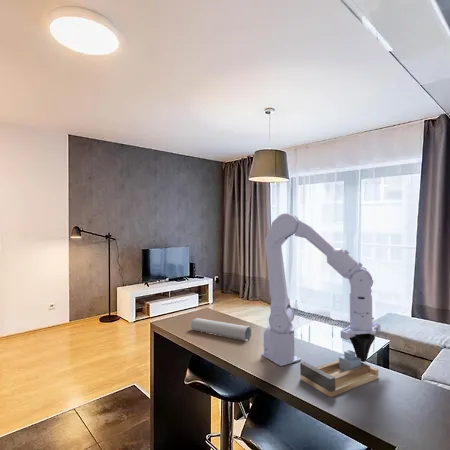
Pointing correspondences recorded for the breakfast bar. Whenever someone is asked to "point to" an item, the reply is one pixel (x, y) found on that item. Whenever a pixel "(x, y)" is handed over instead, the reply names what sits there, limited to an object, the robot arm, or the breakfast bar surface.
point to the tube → (222, 329)
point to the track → (336, 377)
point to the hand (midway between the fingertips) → (361, 360)
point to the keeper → (349, 361)
